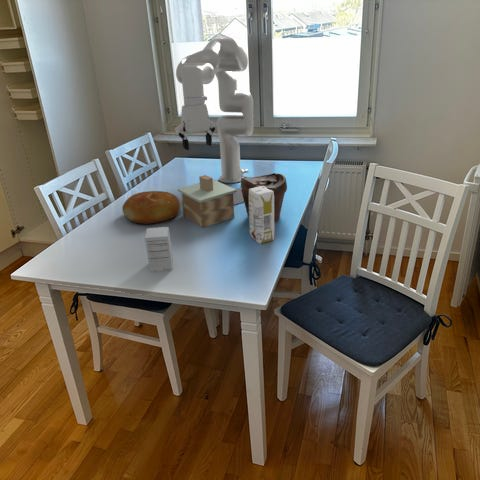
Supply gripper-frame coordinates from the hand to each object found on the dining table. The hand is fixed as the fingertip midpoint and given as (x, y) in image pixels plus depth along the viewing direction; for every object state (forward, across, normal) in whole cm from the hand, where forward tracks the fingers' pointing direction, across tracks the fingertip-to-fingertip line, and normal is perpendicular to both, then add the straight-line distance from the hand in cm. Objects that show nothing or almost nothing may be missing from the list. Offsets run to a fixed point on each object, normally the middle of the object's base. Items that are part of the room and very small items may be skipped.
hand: (197, 147), depth 170 cm
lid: (+18, -1, +2) cm, 18 cm away
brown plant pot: (+29, -19, +16) cm, 39 cm away
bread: (+29, +17, -13) cm, 36 cm away
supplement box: (+29, +31, +29) cm, 51 cm away
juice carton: (+29, -8, +32) cm, 44 cm away
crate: (+29, -1, +2) cm, 29 cm away
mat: (+29, -21, -10) cm, 37 cm away
